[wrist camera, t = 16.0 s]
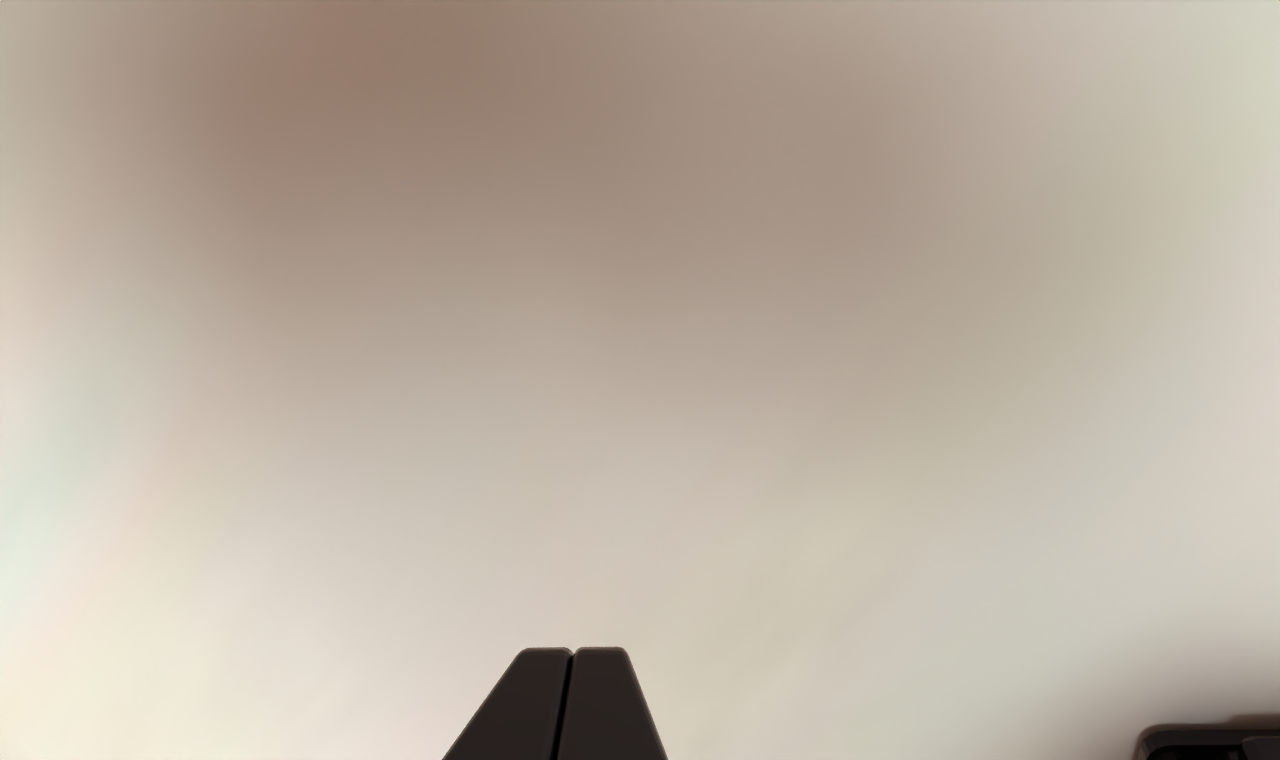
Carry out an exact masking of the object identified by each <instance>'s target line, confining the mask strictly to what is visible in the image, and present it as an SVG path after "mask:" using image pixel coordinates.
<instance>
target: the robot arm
mask: <svg viewBox="0 0 1280 760" xmlns="http://www.w3.org/2000/svg"><path fill="white" fill-rule="evenodd" d="M442 760H668V758H667V755H666V753H665V750H664V747H663V745H662V742H661V740H660V737H659V734H658V732H657V729H656V726H655V724H654V721H653V719H652V716H651V713H650V711H649V708H648V705H647V703H646V700H645V698H644V695H643V692H642V690H641V687H640V684H639V682H638V679H637V677H636V674H635V671H634V669H633V666H632V663H631V661H630V658H629V656H628V654H627V652H626V651H625V650H624V649H623V648H621V647H582V648H579V649H578V650H576V652H575V654H573V652H572V651H571V650H570V649H568V648H565V647H550V648H526V649H524V650H522V651H521V652H520V653H519V654H518V655H517V656H516V657H515V659H514V660H513V661H512V663H511V664H510V666H509V667H508V668H507V670H506V671H505V673H504V674H503V675H502V677H501V678H500V680H499V681H498V682H497V684H496V685H495V687H494V688H493V689H492V691H491V692H490V693H489V695H488V696H487V698H486V699H485V700H484V702H483V703H482V705H481V706H480V707H479V709H478V710H477V712H476V713H475V714H474V716H473V717H472V718H471V720H470V721H469V723H468V724H467V725H466V727H465V728H464V730H463V731H462V732H461V734H460V735H459V737H458V738H457V739H456V741H455V742H454V744H453V745H452V746H451V748H450V749H449V750H448V752H447V753H446V755H445V756H444V757H443V759H442ZM1137 760H1280V730H1198V731H1161V732H1156V733H1154V734H1151V735H1149V736H1148V737H1147V738H1146V739H1144V740H1143V742H1142V744H1141V746H1140V750H1139V754H1138V757H1137Z"/></svg>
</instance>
